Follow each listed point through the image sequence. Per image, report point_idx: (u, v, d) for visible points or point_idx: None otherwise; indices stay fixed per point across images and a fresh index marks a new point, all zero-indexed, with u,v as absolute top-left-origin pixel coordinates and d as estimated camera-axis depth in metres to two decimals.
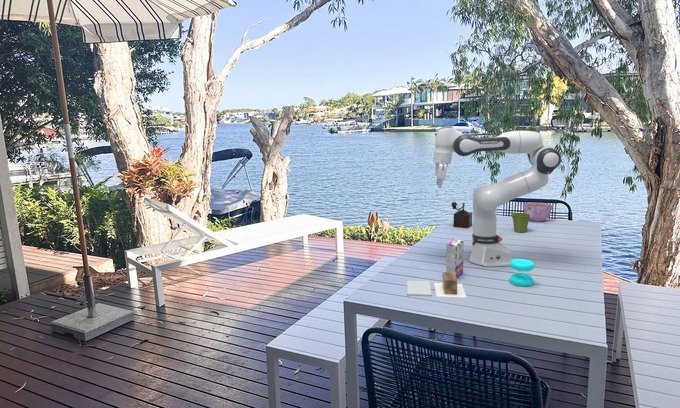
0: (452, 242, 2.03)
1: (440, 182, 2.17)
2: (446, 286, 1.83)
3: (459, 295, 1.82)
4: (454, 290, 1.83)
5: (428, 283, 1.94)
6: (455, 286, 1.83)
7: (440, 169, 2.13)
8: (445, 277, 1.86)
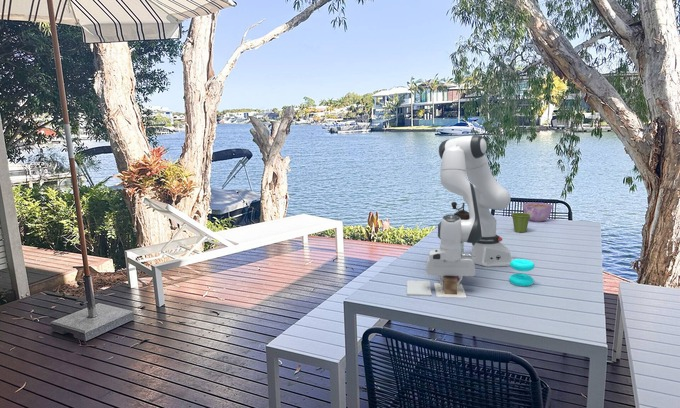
0: None
1: None
2: (446, 286, 1.83)
3: (459, 295, 1.82)
4: (454, 290, 1.83)
5: (428, 283, 1.94)
6: (455, 286, 1.83)
7: None
8: (445, 277, 1.86)
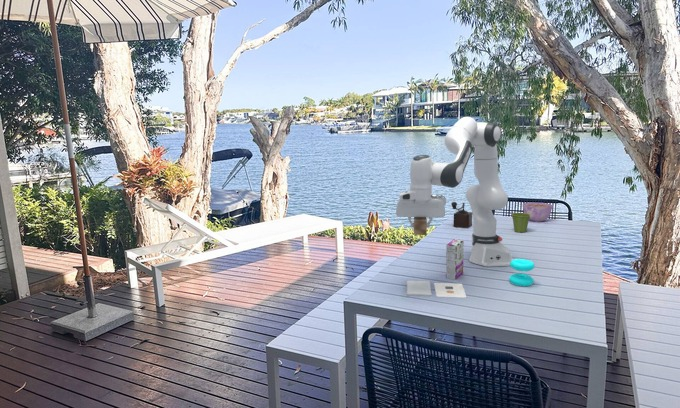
0: (452, 242, 2.03)
1: (431, 220, 1.84)
2: (415, 226, 1.80)
3: (459, 295, 1.82)
4: (423, 231, 1.80)
5: (428, 283, 1.94)
6: (425, 226, 1.80)
7: None
8: (415, 218, 1.83)
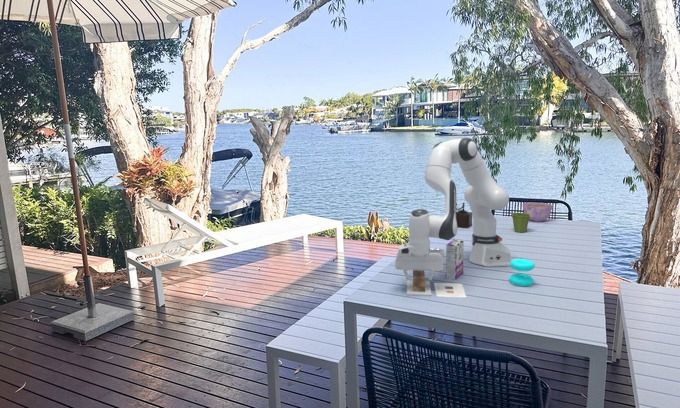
0: (452, 242, 2.03)
1: None
2: (414, 283, 1.85)
3: (459, 295, 1.82)
4: (422, 287, 1.85)
5: (428, 283, 1.94)
6: (423, 283, 1.84)
7: (442, 259, 1.85)
8: (414, 275, 1.88)
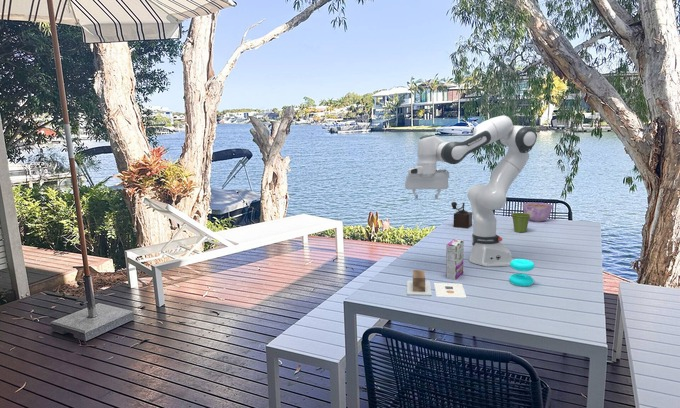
0: (452, 242, 2.03)
1: (439, 192, 2.09)
2: (414, 283, 1.85)
3: (459, 295, 1.82)
4: (422, 287, 1.85)
5: (428, 283, 1.94)
6: (423, 283, 1.84)
7: (447, 178, 2.07)
8: (414, 275, 1.88)
